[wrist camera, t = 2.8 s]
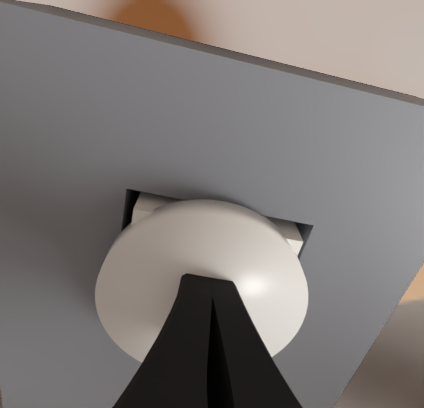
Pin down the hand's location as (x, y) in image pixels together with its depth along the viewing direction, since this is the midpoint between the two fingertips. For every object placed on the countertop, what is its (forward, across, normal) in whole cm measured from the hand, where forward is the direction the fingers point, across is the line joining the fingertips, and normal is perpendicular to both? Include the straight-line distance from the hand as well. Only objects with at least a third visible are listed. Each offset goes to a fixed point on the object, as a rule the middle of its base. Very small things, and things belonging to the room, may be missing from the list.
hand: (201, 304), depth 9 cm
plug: (+5, 0, 0) cm, 5 cm away
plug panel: (+5, 0, +6) cm, 8 cm away
